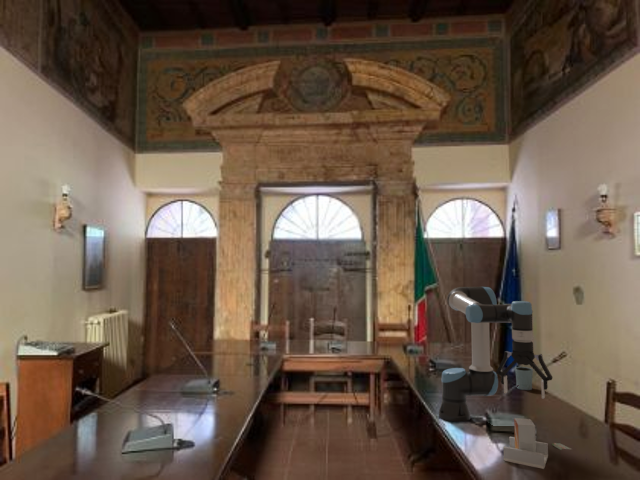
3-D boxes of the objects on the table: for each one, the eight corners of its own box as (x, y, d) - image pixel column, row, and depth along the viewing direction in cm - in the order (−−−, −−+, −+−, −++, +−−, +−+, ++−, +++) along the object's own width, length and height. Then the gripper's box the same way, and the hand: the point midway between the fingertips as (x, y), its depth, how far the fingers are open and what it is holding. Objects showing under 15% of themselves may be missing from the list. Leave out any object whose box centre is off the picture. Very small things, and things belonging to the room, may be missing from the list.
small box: (514, 450, 183) (513, 417, 183) (531, 452, 181) (530, 418, 182) (518, 459, 175) (517, 424, 175) (536, 460, 173) (535, 425, 174)
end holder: (503, 460, 176) (503, 447, 176) (510, 448, 187) (509, 436, 187) (544, 468, 168) (543, 455, 169) (548, 456, 180) (547, 443, 180)
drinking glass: (530, 386, 286) (529, 367, 287) (536, 390, 276) (535, 370, 277) (513, 386, 287) (512, 366, 288) (518, 390, 277) (518, 370, 278)
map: (557, 443, 193) (557, 441, 193) (604, 463, 174) (604, 460, 174) (548, 445, 191) (548, 443, 191) (595, 465, 172) (595, 462, 173)
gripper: (487, 339, 184) (489, 392, 183) (556, 344, 171) (558, 402, 170) (491, 336, 191) (493, 388, 189) (558, 342, 177) (560, 397, 176)
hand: (524, 395), depth 179 cm, fingers open, 13 cm apart
